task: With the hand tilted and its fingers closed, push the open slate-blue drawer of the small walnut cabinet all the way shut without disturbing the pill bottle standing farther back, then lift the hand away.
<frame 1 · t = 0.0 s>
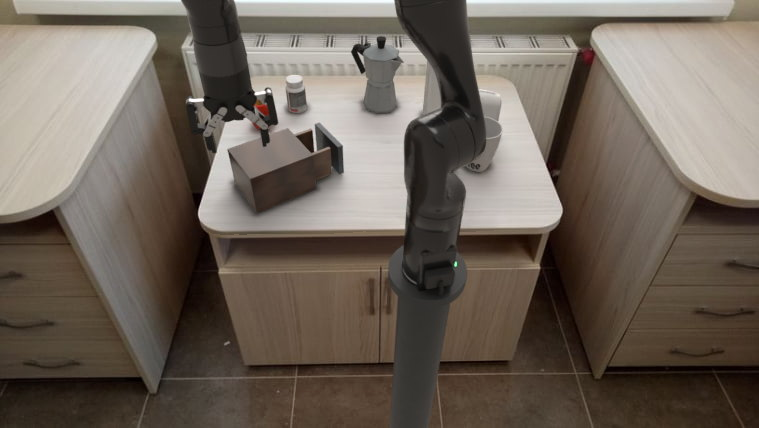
hand: (239, 147, 94), 18 cm above the table, tool pointing down, fingers open, 8 cm apart
cabinet: (275, 186, 115), on the table
pill bottle: (297, 108, 136), on the table
cup: (476, 165, 121), on the table
coffee maker: (376, 103, 139), on the table
photo printer: (473, 137, 129), on the table
apple: (263, 127, 130), on the table
vase: (437, 119, 134), on the table
drawer: (308, 156, 115), point 5 cm above the table, slide at 6.0 cm
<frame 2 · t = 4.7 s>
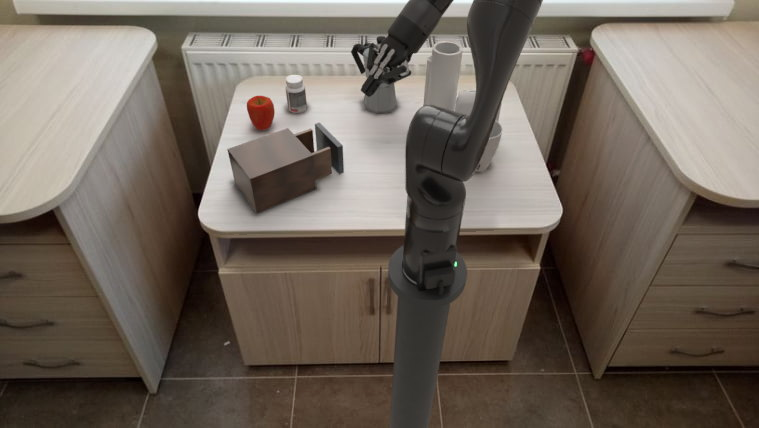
hand: (365, 94, 114), 15 cm above the table, tool tilted 45°, fingers closed
nothing on the table moved.
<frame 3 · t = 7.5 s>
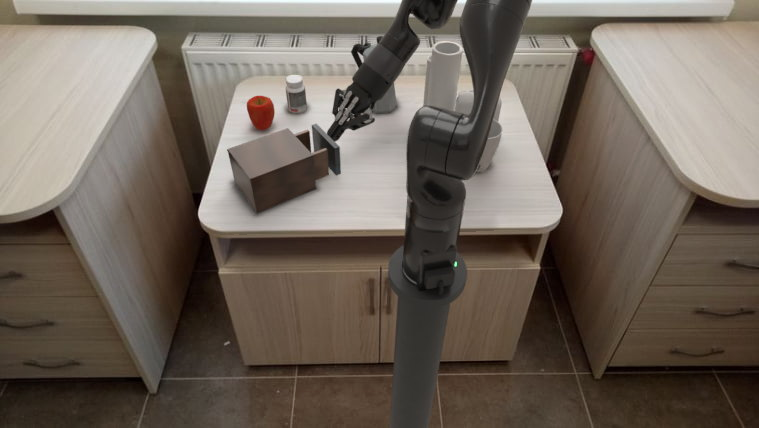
hand: (330, 138, 116), 7 cm above the table, tool tilted 45°, fingers closed
drawer: (305, 157, 115), point 5 cm above the table, slide at 5.2 cm, touching gripper
everything else where it was.
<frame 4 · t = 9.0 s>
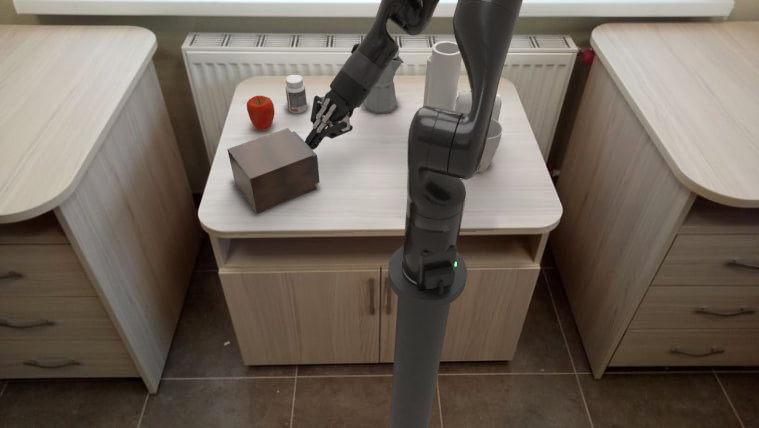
hand: (308, 146, 114), 7 cm above the table, tool tilted 45°, fingers closed
drawer: (283, 165, 113), point 5 cm above the table, slide at 0.0 cm, touching cabinet, gripper
everything else where it was.
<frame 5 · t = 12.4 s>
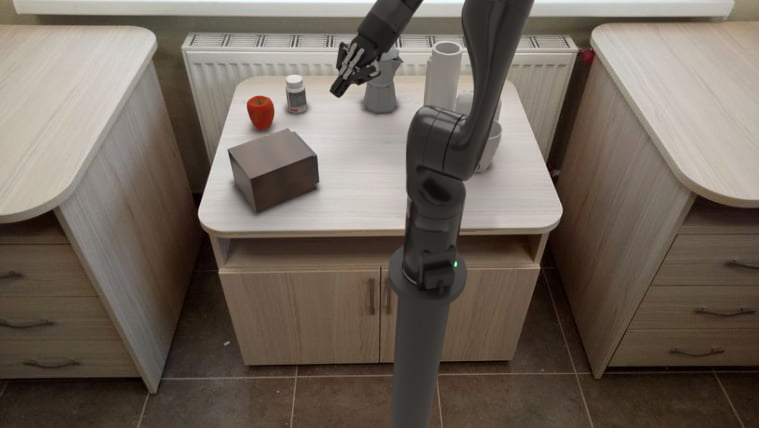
hand: (334, 94, 109), 17 cm above the table, tool tilted 45°, fingers closed
drawer: (283, 165, 113), point 5 cm above the table, slide at 0.0 cm, touching cabinet
everything else where it was.
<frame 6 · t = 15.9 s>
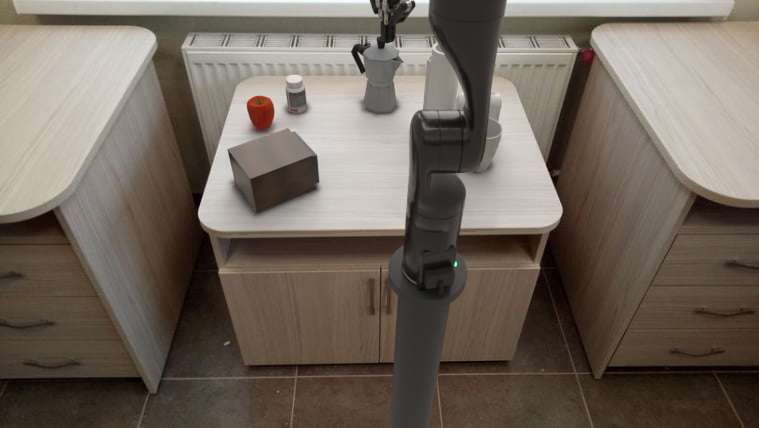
hand: (387, 41, 101), 29 cm above the table, tool pointing down, fingers closed
nothing on the table moved.
at the end: drawer slide at 0.0 cm; pill bottle moved 0.2 cm from its start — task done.
